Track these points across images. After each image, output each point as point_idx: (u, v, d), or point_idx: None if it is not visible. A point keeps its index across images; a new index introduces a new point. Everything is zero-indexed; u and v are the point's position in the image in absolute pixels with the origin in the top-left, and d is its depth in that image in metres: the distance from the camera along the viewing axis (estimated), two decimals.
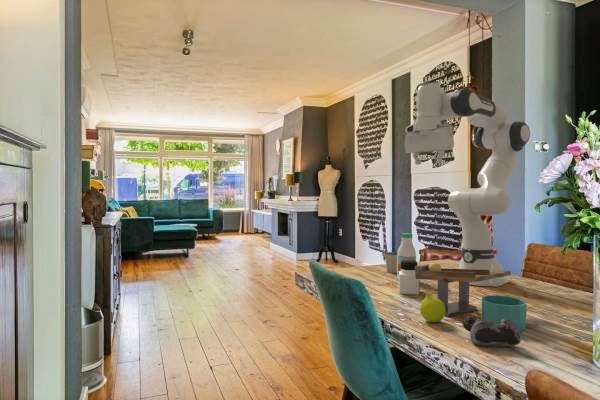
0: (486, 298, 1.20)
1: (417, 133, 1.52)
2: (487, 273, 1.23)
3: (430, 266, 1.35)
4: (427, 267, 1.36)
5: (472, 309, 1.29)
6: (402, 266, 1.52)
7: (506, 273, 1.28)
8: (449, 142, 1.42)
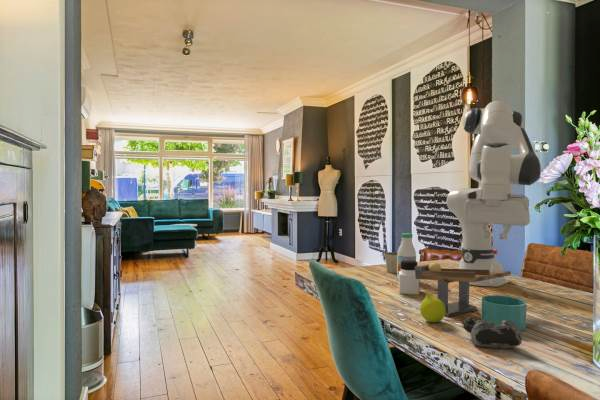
0: (486, 298, 1.20)
1: (481, 201, 1.29)
2: (487, 273, 1.23)
3: (430, 266, 1.35)
4: (427, 267, 1.36)
5: (472, 309, 1.29)
6: (402, 266, 1.52)
7: (506, 273, 1.28)
8: (525, 218, 1.19)
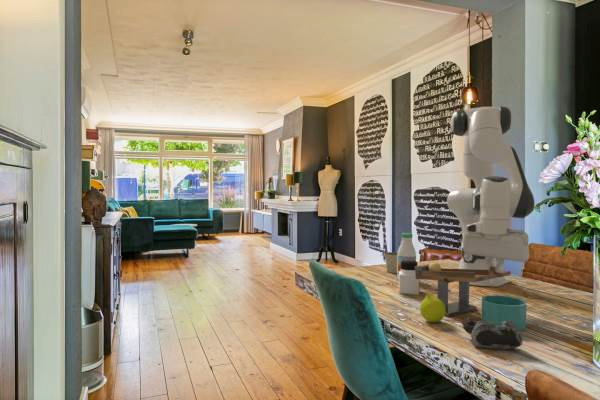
0: (486, 298, 1.20)
1: (481, 235, 1.30)
2: (487, 273, 1.23)
3: (430, 266, 1.35)
4: (427, 267, 1.36)
5: (472, 309, 1.29)
6: (402, 266, 1.52)
7: (506, 273, 1.28)
8: (524, 254, 1.19)
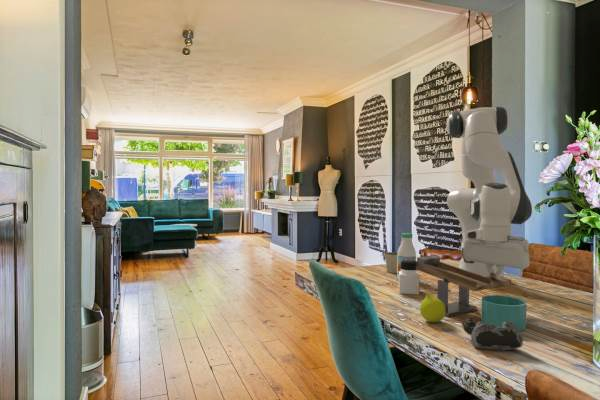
0: (486, 298, 1.20)
1: (481, 241, 1.29)
2: (488, 282, 1.23)
3: None
4: (429, 260, 1.36)
5: (472, 309, 1.29)
6: (402, 266, 1.52)
7: (507, 282, 1.28)
8: (524, 261, 1.19)
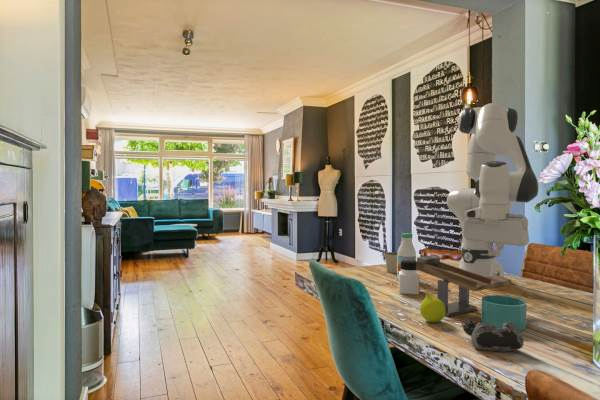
0: (486, 298, 1.20)
1: (480, 220, 1.30)
2: (488, 282, 1.23)
3: None
4: (429, 260, 1.36)
5: (472, 309, 1.29)
6: (402, 266, 1.52)
7: (507, 282, 1.28)
8: (524, 238, 1.19)
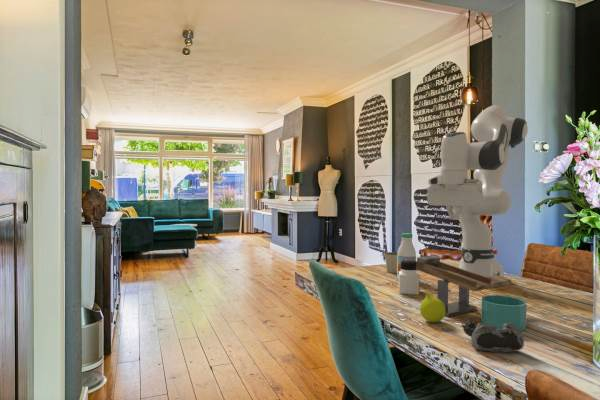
0: (486, 298, 1.20)
1: (442, 186, 1.42)
2: (488, 282, 1.23)
3: None
4: (429, 260, 1.36)
5: (472, 309, 1.29)
6: (402, 266, 1.52)
7: (507, 282, 1.28)
8: (478, 200, 1.32)
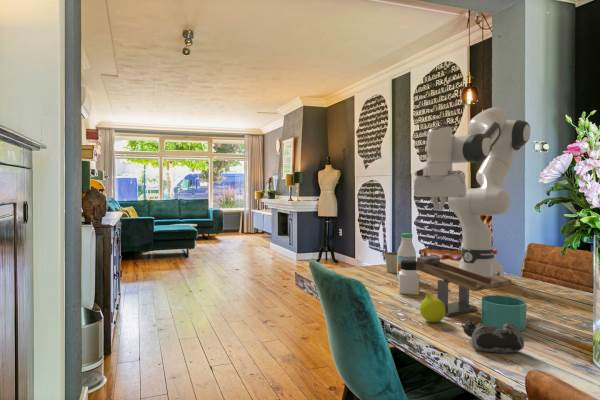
0: (486, 298, 1.20)
1: (427, 178, 1.47)
2: (488, 282, 1.23)
3: None
4: (429, 260, 1.36)
5: (472, 309, 1.29)
6: (402, 266, 1.52)
7: (507, 282, 1.28)
8: (461, 190, 1.37)
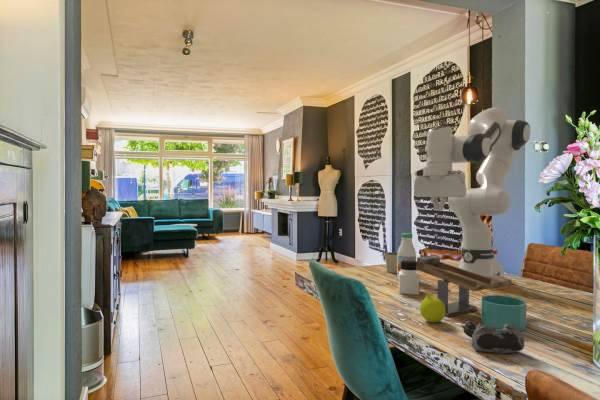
0: (486, 298, 1.20)
1: (427, 178, 1.47)
2: (488, 282, 1.23)
3: None
4: (429, 260, 1.36)
5: (472, 309, 1.29)
6: (402, 266, 1.52)
7: (507, 282, 1.28)
8: (461, 190, 1.37)
